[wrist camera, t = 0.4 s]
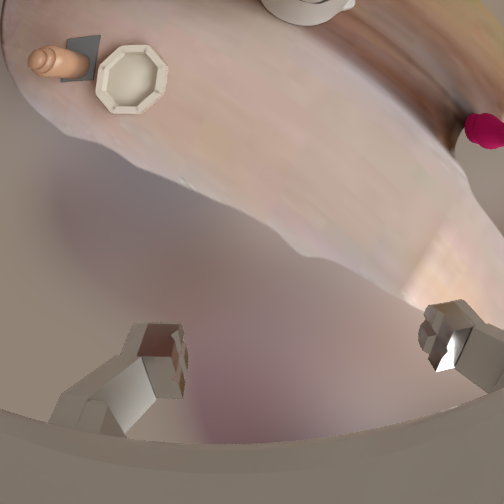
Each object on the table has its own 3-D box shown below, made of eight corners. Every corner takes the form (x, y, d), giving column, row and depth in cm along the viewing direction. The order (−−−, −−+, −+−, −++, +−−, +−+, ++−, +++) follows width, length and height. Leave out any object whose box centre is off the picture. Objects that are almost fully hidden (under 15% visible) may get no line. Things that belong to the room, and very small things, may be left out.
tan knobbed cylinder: (69, 54, 40) (25, 45, 27) (92, 52, 41) (50, 40, 28) (65, 80, 42) (20, 77, 30) (88, 78, 43) (45, 73, 30)
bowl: (108, 49, 41) (102, 46, 38) (172, 48, 42) (169, 44, 40) (100, 112, 46) (93, 113, 43) (163, 114, 47) (158, 114, 44)
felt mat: (68, 39, 39) (67, 39, 39) (100, 35, 40) (100, 35, 39) (61, 82, 42) (60, 82, 42) (93, 79, 43) (92, 79, 43)
